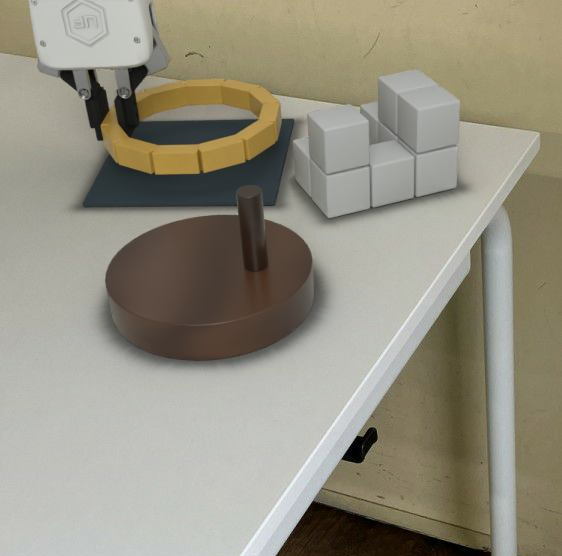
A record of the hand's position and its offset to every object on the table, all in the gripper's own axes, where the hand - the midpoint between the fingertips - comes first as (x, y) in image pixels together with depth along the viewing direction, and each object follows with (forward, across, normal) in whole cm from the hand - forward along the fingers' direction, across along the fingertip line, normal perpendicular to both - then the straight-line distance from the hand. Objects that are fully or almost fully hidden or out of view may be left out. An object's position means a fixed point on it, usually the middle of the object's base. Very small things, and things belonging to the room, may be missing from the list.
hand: (116, 133), depth 93 cm
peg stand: (+3, +12, -23) cm, 27 cm away
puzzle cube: (+3, +23, -3) cm, 23 cm away
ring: (0, +7, 0) cm, 7 cm away
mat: (+3, +7, 0) cm, 8 cm away
